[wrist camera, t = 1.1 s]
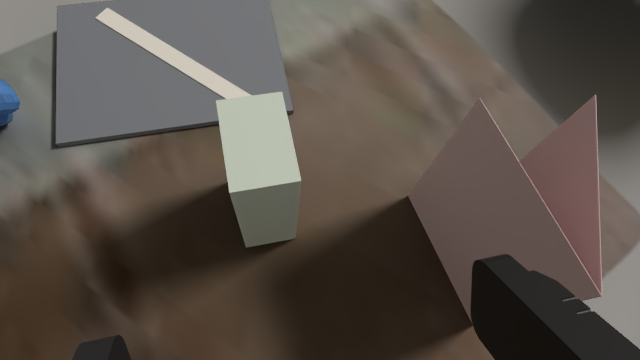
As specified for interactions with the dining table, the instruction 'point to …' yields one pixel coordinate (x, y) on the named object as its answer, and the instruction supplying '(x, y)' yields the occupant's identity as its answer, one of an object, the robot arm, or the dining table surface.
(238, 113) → the sage block
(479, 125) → the greeting card
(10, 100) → the grapes
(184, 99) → the mat
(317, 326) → the dining table surface
